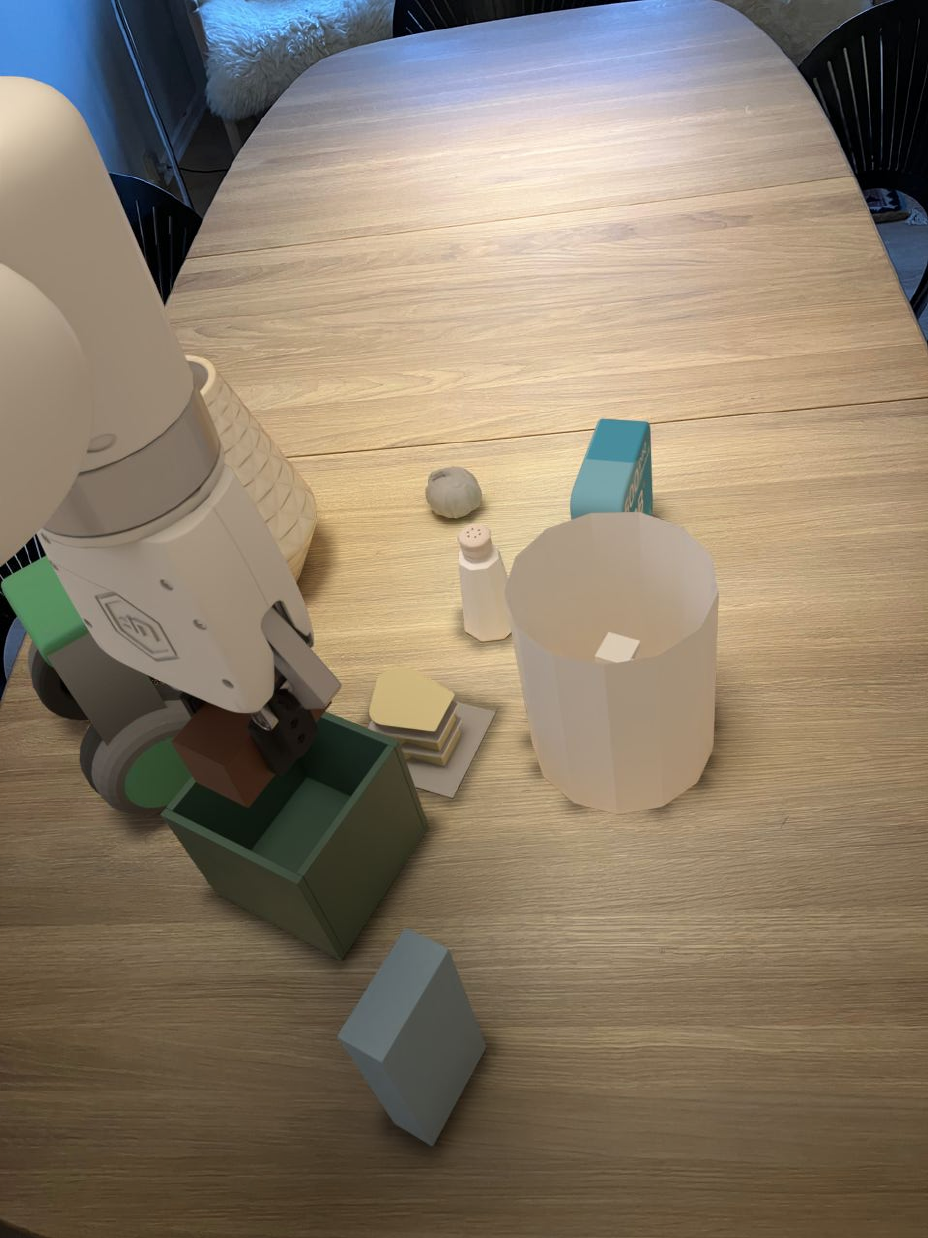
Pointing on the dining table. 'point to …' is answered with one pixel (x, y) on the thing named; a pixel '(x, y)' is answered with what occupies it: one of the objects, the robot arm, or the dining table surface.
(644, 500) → the teal box
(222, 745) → the reddish brown block
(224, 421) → the vase
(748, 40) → the dining table surface
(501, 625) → the pepper shaker
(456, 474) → the garlic
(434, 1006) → the grey-blue rectangular block
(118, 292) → the robot arm
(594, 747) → the container
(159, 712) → the headphones
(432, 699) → the stacked layers on plate
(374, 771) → the bin
